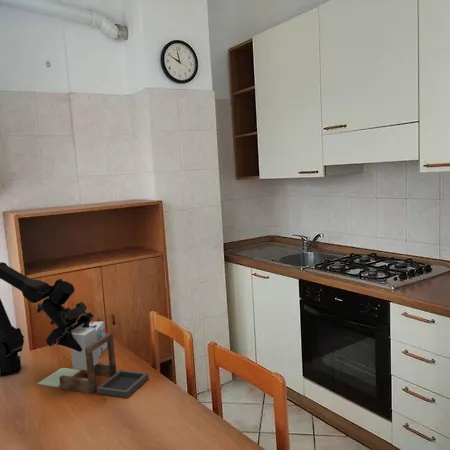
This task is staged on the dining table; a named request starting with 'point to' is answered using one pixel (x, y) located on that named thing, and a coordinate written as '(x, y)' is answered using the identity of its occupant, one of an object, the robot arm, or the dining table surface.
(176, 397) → the dining table surface
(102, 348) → the light bulb box
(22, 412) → the dining table surface
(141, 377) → the box
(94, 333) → the block
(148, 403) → the dining table surface
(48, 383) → the pad
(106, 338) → the wooden gate frame
